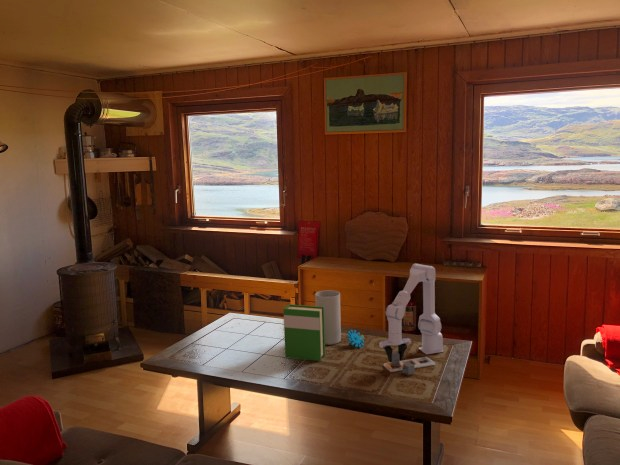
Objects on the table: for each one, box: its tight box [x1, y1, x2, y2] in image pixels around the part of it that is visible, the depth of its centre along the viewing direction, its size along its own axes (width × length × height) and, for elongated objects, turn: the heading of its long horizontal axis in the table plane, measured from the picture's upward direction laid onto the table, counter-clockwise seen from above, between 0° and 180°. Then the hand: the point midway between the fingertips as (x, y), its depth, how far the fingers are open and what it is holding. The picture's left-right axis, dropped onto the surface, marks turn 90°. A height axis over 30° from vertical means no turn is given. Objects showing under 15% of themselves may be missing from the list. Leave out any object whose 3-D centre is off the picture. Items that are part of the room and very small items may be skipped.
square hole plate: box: [383, 356, 436, 373], centre depth 230 cm, size 22×7×1 cm, turn 107°
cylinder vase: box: [314, 289, 342, 346], centre depth 262 cm, size 12×12×25 cm
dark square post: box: [391, 350, 400, 368], centre depth 228 cm, size 4×4×6 cm
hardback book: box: [283, 304, 326, 362], centre depth 243 cm, size 18×7×24 cm, turn 71°
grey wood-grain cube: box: [402, 362, 415, 376], centre depth 222 cm, size 4×4×4 cm
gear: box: [346, 329, 365, 349], centre depth 257 cm, size 11×6×10 cm
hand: (395, 360), depth 228 cm, fingers closed on dark square post, 4 cm apart
